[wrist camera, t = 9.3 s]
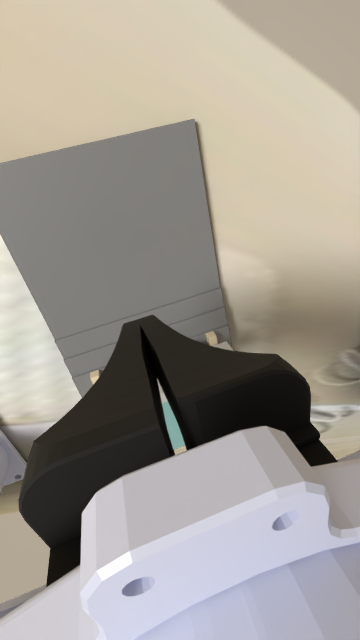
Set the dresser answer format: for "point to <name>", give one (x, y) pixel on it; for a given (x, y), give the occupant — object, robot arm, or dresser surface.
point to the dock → (115, 241)
